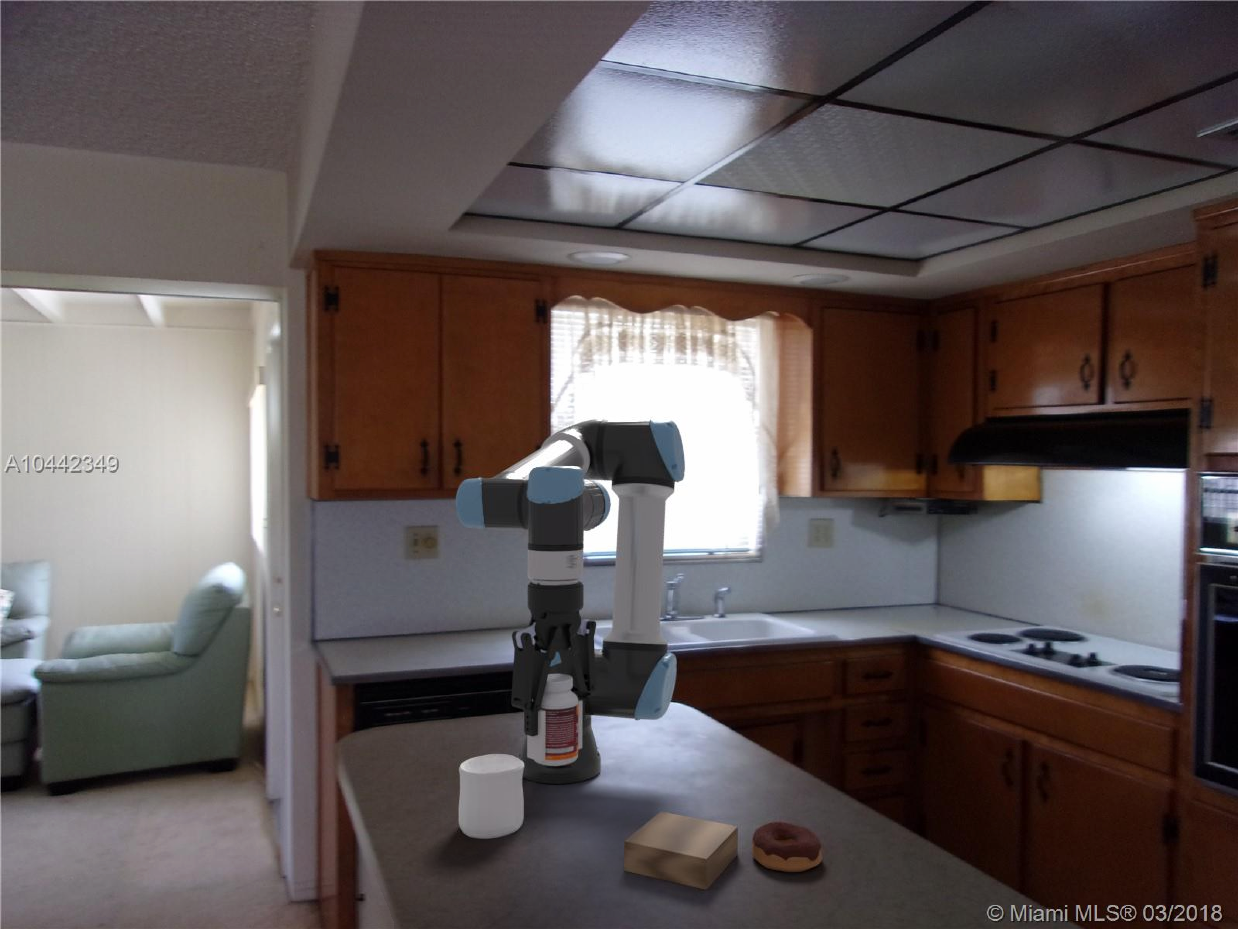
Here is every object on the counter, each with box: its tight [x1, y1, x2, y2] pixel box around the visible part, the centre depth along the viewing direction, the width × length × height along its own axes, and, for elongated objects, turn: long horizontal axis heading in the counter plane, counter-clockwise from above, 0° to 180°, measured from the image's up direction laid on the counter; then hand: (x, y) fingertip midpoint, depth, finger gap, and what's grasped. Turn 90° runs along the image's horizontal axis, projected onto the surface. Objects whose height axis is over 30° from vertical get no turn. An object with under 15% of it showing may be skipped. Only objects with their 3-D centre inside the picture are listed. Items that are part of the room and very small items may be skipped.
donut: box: [751, 821, 823, 873], centre depth 127 cm, size 10×10×4 cm
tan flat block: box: [623, 811, 739, 891], centre depth 126 cm, size 12×12×4 cm
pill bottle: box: [532, 674, 578, 766], centre depth 121 cm, size 6×6×11 cm
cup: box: [458, 753, 525, 840], centre depth 138 cm, size 10×10×10 cm
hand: (555, 752), depth 121 cm, fingers closed on pill bottle, 6 cm apart
